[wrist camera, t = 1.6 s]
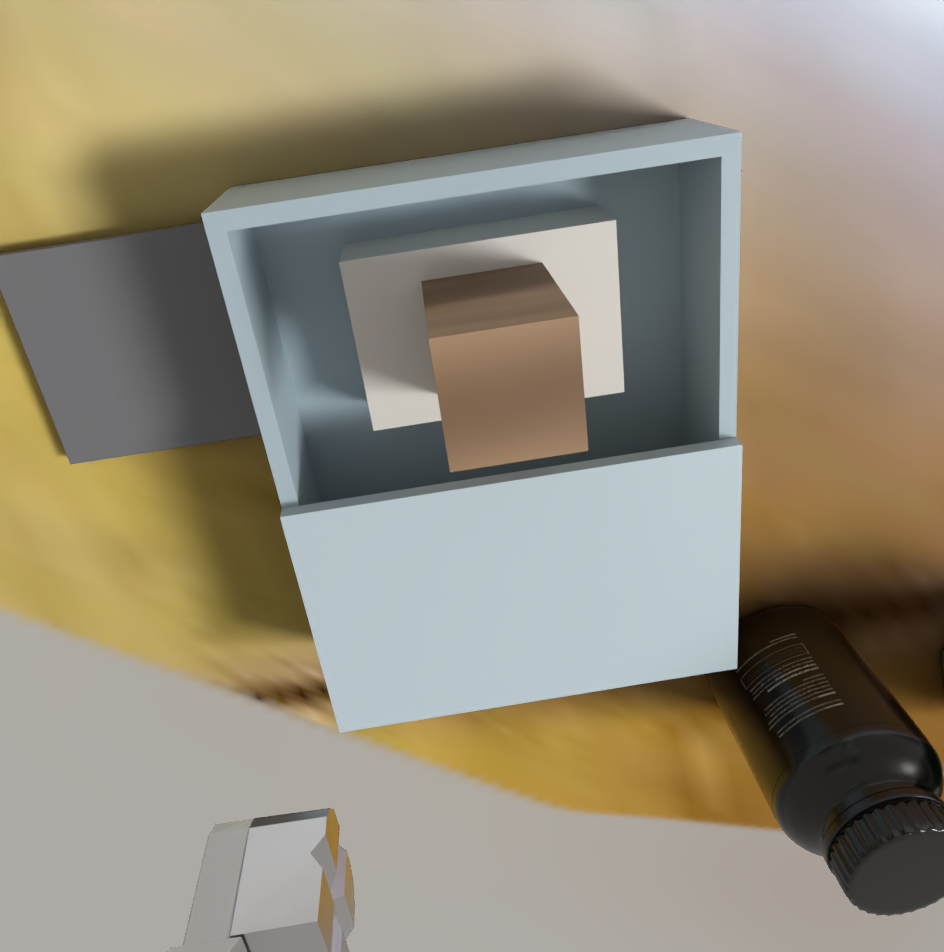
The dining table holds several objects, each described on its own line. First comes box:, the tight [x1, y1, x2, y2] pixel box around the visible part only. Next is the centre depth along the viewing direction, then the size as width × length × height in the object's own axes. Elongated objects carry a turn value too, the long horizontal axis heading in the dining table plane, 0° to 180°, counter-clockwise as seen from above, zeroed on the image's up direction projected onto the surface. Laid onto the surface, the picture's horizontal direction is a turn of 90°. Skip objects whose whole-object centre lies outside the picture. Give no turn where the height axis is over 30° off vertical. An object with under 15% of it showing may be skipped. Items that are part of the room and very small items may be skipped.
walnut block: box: [421, 263, 588, 472], centre depth 26 cm, size 4×4×6 cm
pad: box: [0, 222, 262, 464], centre depth 31 cm, size 8×8×1 cm
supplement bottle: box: [709, 606, 944, 916], centre depth 35 cm, size 7×7×12 cm
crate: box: [201, 118, 742, 732], centre depth 31 cm, size 20×16×6 cm
